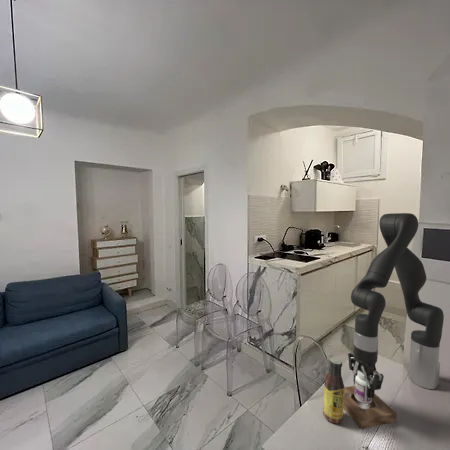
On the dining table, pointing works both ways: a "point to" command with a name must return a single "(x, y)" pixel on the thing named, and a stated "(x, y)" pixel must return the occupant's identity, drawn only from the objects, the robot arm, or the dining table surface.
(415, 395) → the dining table surface
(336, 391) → the sauce bottle
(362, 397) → the pill bottle
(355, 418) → the mount
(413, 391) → the dining table surface
